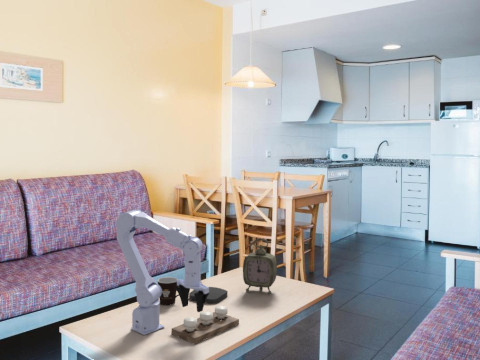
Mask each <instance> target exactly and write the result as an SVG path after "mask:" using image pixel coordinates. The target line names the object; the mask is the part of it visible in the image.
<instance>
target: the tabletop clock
mask: <svg viewBox="0 0 480 360" xmlns="http://www.w3.org/2000/svg"><path fill="white" fill-rule="evenodd" d="M256 241H257V242H258V241H264V242H265V243H266V245H265V246H263V245H262V244H260V245H256ZM253 246H255V247H256V250H255V252H250V253H249V254H247V255H246V256H245V257H244V260H243V265H242V277H243V278H242V279H243V282H244V284H245V285H247V288H246V289H245V292H247V293H249V291H250V288H251V287H255V288H259V289H258V290H259V291H263V288H267V290H268V292H267V295H272V291H271V290H270V289H271V286H273V284H274V283H275V281H276V279H277V273H278V263H277V258H276V255H274V254H272V253H268V252H267V251H266V250H265V249H264V248H267V247H268V246H269V242H268V240H266V239H264V238H256V239H254V240H253Z"/></svg>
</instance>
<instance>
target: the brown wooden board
mask: <svg viewBox="0 0 480 360" xmlns="http://www.w3.org/2000/svg"><path fill="white" fill-rule="evenodd" d="M212 313H213V320H212V321H210V325H203V324H202V321H201V320H200V317H199V318H198V317H196V319H197V326H196V327H194V331H193V332H187V331H186V327H184V323H182V324H180V325H178V326H174V327H171V335H173V336H175V337H177V338H180V339H182V340H184V341H186V342H189V343H191V344H194V345H197V343H200V342H203V341H205V340H207V339H210V338H212V337H213V336H214V337H215V336H216V335H219V334H220V333H222V332H225V331H227V330H229V329H232V328H234V327H236V326H238V325H240V319H239V318H236V317H235V316H234V317H233V316H232V315H228V314H226V315H225V318H224V319H218V318H217V315H216V314H215V311H213V312H212Z"/></svg>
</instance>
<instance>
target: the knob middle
mask: <svg viewBox="0 0 480 360" xmlns="http://www.w3.org/2000/svg"><path fill="white" fill-rule="evenodd" d="M199 318H200V320H201V321H202V324H203V325H210V321H212V320H213V312H212V311H208V310H206V311H205V310H204V311H201V312H199Z"/></svg>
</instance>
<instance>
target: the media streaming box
mask: <svg viewBox="0 0 480 360" xmlns="http://www.w3.org/2000/svg"><path fill="white" fill-rule="evenodd" d="M208 287H209V295H208V297H207V298H206V301H205V303H204V304H207V305H208V304H209V305H215V304H218V303H220V302H221V301H223V300H225V299H227V297H228V290H226V289H224V288H221V287H216V286H208ZM197 292H199V291H196V290H193V289H192V290H191V291H189V299H188V300H190V301H193V302H196V298H195V295H194V294H195V293H197Z"/></svg>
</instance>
